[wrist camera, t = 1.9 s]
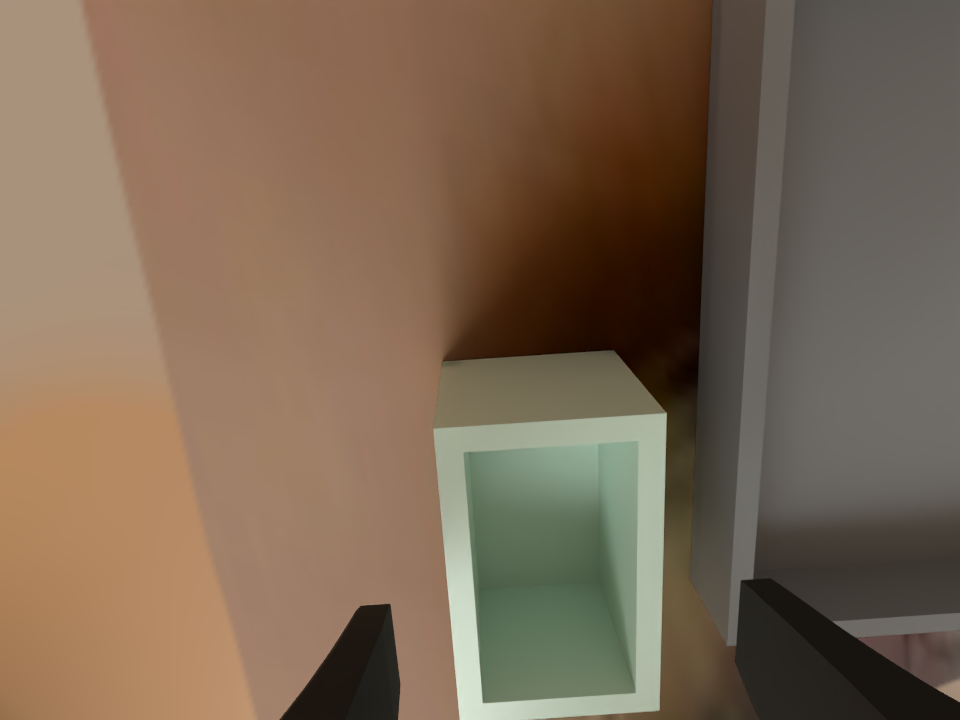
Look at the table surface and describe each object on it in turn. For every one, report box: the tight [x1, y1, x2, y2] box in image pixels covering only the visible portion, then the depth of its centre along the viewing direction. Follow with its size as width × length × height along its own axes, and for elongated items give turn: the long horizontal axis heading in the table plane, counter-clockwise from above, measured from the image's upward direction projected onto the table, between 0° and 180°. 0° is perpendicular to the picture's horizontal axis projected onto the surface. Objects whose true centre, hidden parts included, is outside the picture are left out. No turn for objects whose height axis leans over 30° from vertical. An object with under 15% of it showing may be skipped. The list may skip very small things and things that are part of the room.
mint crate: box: [433, 350, 667, 720], centre depth 17 cm, size 8×5×5 cm, turn 4°
